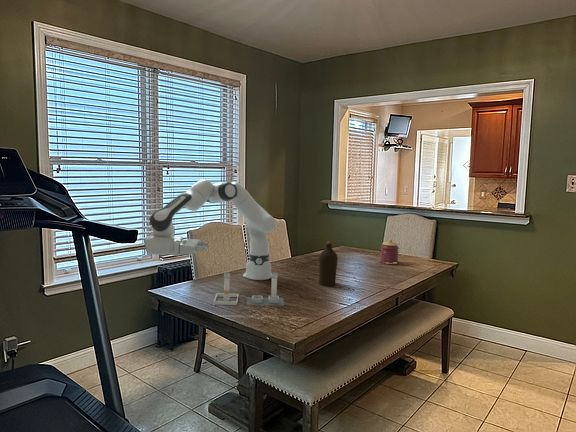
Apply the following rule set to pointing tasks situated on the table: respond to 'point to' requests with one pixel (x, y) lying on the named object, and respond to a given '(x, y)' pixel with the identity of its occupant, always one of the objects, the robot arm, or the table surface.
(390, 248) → the canister
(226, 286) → the cylinder
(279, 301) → the fuse board
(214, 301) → the tray
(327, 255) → the olive oil
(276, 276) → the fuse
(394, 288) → the table surface
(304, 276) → the table surface
